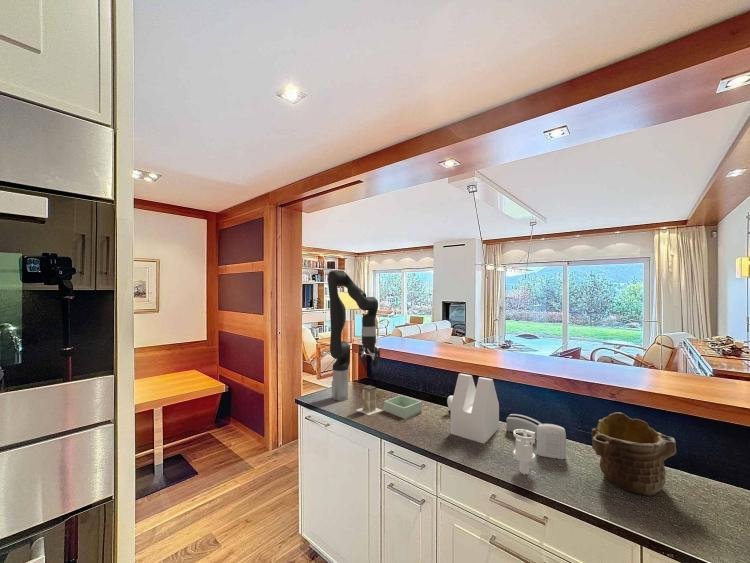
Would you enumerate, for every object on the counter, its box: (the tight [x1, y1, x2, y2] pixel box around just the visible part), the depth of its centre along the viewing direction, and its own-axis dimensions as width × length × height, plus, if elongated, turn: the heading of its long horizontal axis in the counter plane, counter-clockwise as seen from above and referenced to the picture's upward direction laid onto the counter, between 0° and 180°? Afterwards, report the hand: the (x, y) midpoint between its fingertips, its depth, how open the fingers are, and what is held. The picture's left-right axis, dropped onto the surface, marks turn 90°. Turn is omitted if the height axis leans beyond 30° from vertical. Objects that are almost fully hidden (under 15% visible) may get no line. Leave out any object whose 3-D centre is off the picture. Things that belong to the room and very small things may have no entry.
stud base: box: [356, 407, 383, 416], centre depth 173 cm, size 10×10×8 cm
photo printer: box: [536, 423, 567, 460], centre depth 129 cm, size 10×4×12 cm, turn 73°
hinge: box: [506, 413, 543, 439], centre depth 146 cm, size 17×5×10 cm, turn 43°
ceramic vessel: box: [591, 411, 677, 496], centre depth 111 cm, size 23×24×25 cm
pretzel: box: [446, 394, 454, 412], centre depth 172 cm, size 11×12×9 cm
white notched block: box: [450, 372, 500, 444], centre depth 151 cm, size 19×15×25 cm
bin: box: [383, 394, 423, 421], centre depth 172 cm, size 14×14×6 cm
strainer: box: [512, 429, 536, 475], centre depth 118 cm, size 7×7×15 cm
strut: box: [362, 384, 377, 412], centre depth 173 cm, size 5×5×12 cm
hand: (369, 365), depth 173 cm, fingers open, 8 cm apart
